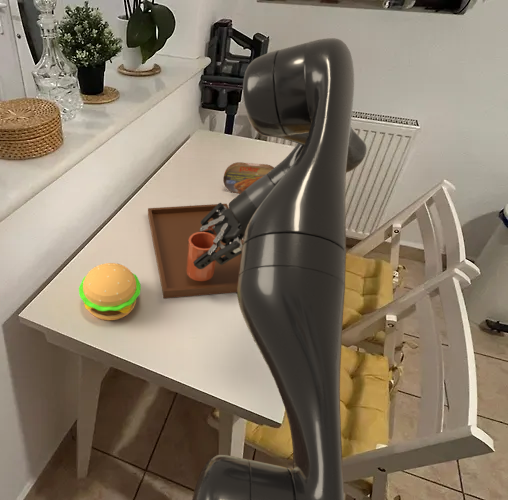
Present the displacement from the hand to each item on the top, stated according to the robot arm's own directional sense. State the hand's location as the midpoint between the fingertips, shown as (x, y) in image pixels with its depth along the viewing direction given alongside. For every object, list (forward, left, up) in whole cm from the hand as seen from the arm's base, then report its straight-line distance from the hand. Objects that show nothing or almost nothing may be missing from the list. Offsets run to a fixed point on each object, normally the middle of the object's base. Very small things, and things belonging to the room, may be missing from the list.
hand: (193, 255), depth 87 cm
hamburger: (-5, +17, -7) cm, 19 cm away
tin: (+33, -23, -8) cm, 41 cm away
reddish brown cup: (0, -2, -5) cm, 5 cm away
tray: (+10, -4, -7) cm, 13 cm away
